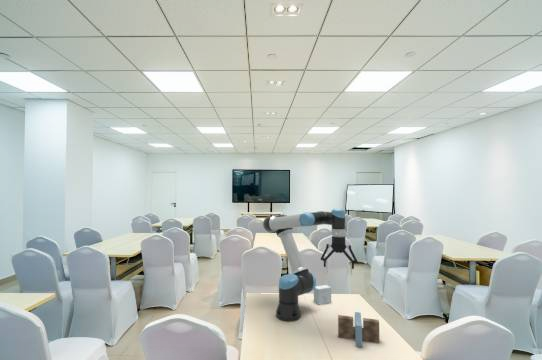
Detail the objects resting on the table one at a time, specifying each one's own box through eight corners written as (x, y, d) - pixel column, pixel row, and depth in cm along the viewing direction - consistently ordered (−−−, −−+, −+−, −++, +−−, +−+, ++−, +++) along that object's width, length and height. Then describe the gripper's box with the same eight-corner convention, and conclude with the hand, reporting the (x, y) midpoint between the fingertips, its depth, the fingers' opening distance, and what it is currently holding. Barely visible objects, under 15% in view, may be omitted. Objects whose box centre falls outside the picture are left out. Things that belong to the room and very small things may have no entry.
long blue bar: (355, 346, 135) (355, 325, 135) (354, 330, 150) (354, 311, 151) (362, 347, 134) (362, 326, 135) (360, 331, 150) (360, 312, 150)
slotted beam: (338, 337, 144) (338, 317, 144) (338, 334, 146) (338, 315, 147) (379, 342, 138) (379, 322, 139) (378, 339, 141) (378, 319, 142)
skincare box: (326, 299, 195) (326, 284, 195) (331, 302, 189) (331, 287, 189) (313, 301, 190) (313, 286, 191) (318, 305, 185) (318, 289, 185)
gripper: (315, 236, 159) (315, 273, 158) (361, 238, 152) (362, 277, 151) (317, 234, 166) (317, 270, 165) (361, 236, 159) (361, 273, 158)
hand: (338, 273), depth 158 cm, fingers open, 13 cm apart
